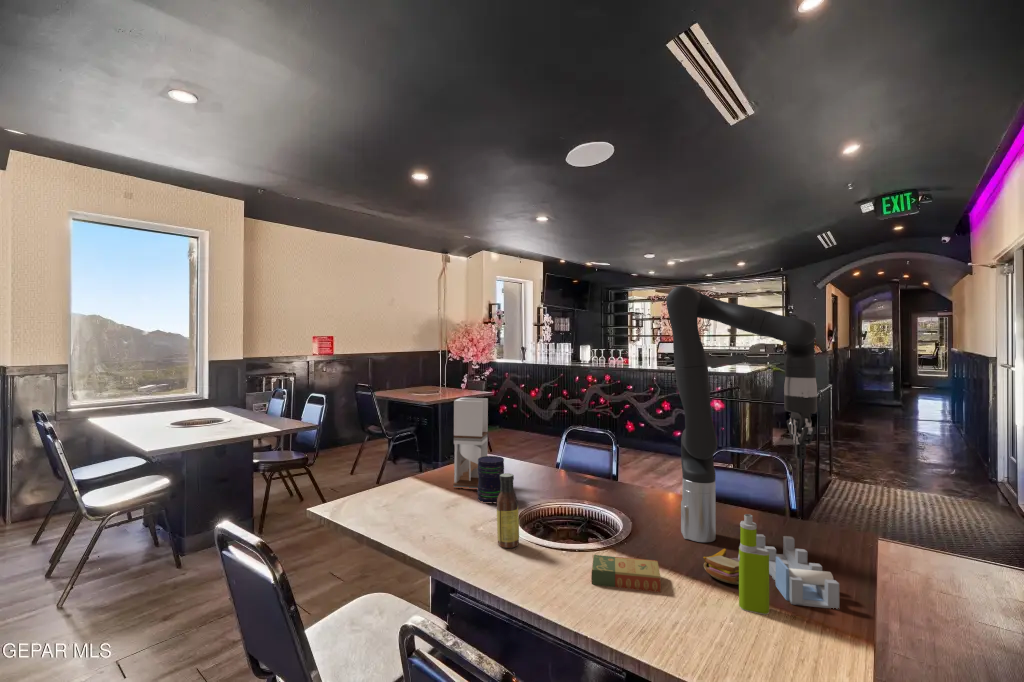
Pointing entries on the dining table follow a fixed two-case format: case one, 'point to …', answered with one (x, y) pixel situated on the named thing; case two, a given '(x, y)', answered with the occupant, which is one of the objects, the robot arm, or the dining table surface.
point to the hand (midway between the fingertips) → (800, 458)
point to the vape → (752, 570)
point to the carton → (626, 573)
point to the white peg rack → (794, 586)
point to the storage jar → (489, 477)
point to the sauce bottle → (507, 513)
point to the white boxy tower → (469, 439)
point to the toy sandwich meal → (723, 567)
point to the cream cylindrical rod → (811, 576)
